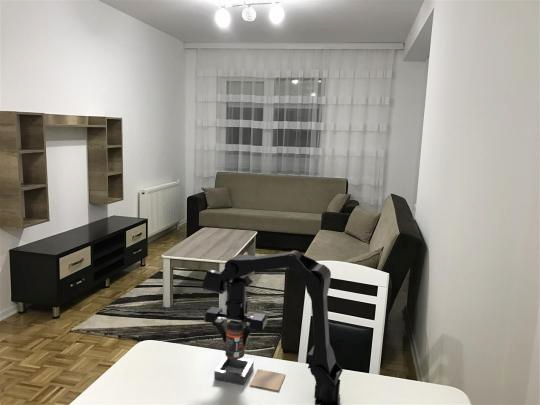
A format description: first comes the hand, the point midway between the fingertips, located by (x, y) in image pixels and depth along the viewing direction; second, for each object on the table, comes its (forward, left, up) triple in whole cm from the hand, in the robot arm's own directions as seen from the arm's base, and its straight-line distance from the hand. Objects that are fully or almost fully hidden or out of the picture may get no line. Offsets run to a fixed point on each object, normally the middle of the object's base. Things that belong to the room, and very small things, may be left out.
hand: (235, 343), depth 141 cm
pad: (-11, 0, -10) cm, 15 cm away
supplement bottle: (0, 0, -4) cm, 4 cm away
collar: (0, 0, -10) cm, 10 cm away
